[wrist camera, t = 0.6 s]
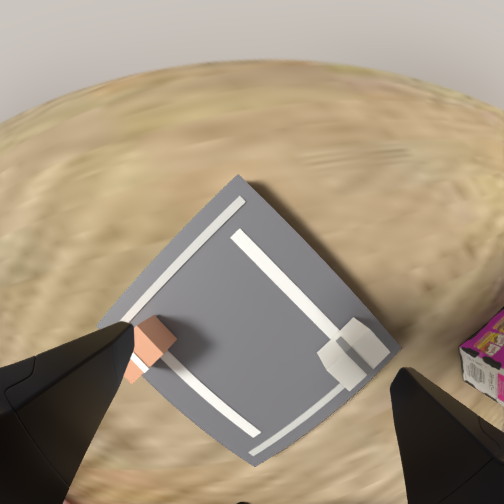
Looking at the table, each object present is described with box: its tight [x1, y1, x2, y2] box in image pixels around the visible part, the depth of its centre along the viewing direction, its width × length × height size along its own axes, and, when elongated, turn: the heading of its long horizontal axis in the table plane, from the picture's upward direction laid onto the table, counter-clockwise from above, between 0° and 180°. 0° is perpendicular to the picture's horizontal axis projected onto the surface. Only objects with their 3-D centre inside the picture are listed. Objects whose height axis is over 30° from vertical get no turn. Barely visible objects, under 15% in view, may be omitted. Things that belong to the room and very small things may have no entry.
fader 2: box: [317, 317, 390, 391], centre depth 17 cm, size 2×4×3 cm
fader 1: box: [124, 315, 177, 384], centre depth 18 cm, size 2×4×3 cm
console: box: [96, 174, 402, 467], centre depth 20 cm, size 18×16×2 cm
